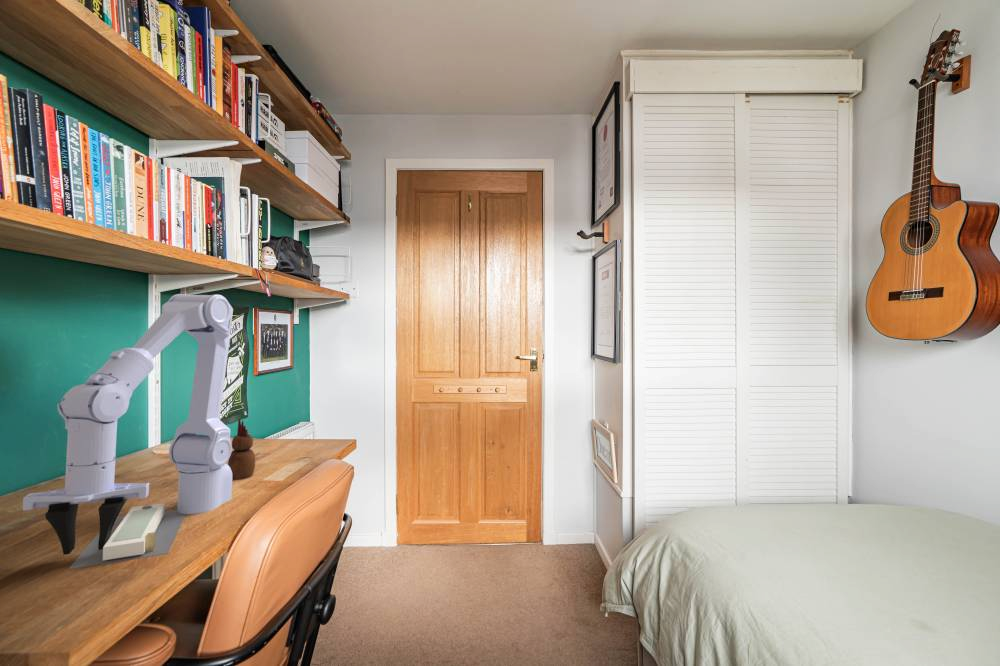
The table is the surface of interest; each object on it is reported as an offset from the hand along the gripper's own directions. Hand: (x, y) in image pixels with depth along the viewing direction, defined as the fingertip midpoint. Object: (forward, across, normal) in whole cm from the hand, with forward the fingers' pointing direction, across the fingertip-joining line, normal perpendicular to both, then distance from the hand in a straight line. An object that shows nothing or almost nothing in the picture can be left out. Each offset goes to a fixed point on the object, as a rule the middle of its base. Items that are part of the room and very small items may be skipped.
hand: (86, 549), depth 70 cm
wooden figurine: (+2, +19, +37) cm, 42 cm away
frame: (+1, +5, +6) cm, 8 cm away
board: (+2, +5, +7) cm, 9 cm away
